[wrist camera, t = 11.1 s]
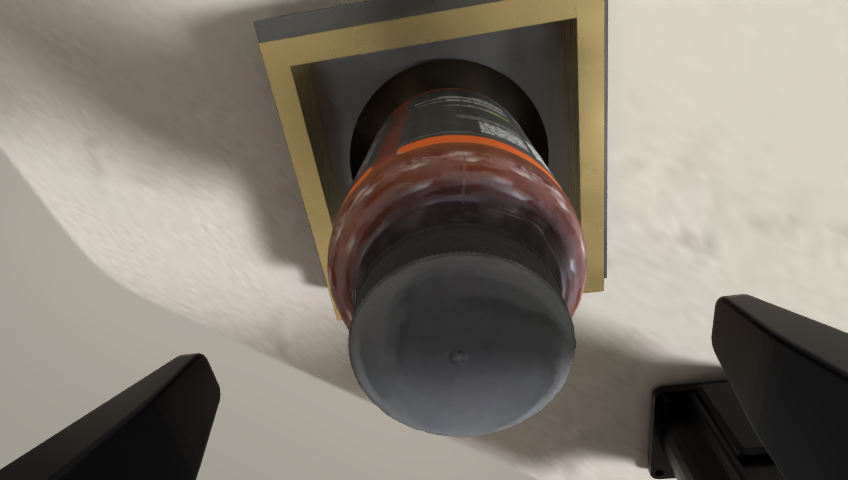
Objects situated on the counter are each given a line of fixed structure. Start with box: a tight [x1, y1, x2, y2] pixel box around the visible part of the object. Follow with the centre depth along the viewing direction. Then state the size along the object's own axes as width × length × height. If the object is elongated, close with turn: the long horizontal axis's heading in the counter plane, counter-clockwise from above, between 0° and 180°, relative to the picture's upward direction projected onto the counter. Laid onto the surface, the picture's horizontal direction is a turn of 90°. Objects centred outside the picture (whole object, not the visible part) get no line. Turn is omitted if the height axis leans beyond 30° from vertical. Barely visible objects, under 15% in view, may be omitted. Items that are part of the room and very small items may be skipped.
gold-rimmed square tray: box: [254, 0, 608, 320], centre depth 18 cm, size 12×12×4 cm
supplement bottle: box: [327, 88, 587, 437], centre depth 13 cm, size 6×6×11 cm
